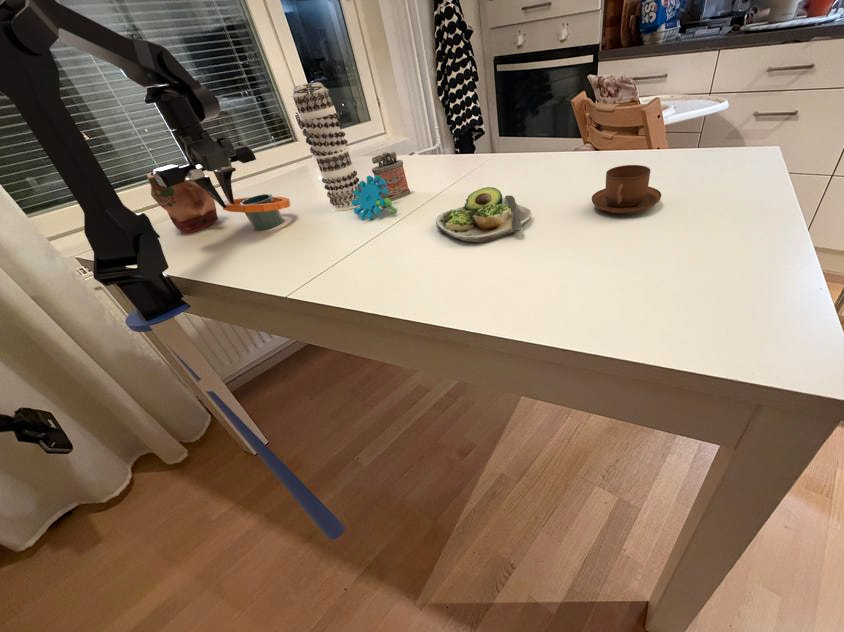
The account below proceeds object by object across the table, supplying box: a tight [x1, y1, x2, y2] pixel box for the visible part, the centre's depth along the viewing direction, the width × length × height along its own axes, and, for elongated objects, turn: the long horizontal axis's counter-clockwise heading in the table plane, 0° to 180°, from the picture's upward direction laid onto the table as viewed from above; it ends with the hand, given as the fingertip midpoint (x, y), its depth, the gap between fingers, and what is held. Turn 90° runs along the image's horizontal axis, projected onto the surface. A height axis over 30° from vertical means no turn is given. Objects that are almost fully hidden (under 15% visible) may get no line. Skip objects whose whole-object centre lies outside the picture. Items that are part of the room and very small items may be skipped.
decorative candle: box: [291, 81, 361, 212], centre depth 90 cm, size 9×9×25 cm
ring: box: [222, 196, 291, 213], centre depth 92 cm, size 14×14×1 cm
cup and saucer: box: [591, 164, 662, 214], centre depth 71 cm, size 12×12×6 cm
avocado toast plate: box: [435, 186, 532, 243], centre depth 74 cm, size 19×18×5 cm
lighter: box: [371, 151, 411, 202], centre depth 94 cm, size 8×3×10 cm, turn 130°
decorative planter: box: [146, 162, 219, 233], centre depth 98 cm, size 20×12×14 cm, turn 64°
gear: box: [352, 175, 398, 220], centre depth 89 cm, size 11×6×10 cm
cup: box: [241, 193, 284, 231], centre depth 93 cm, size 7×7×6 cm
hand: (228, 206), depth 88 cm, fingers closed on ring, 1 cm apart
